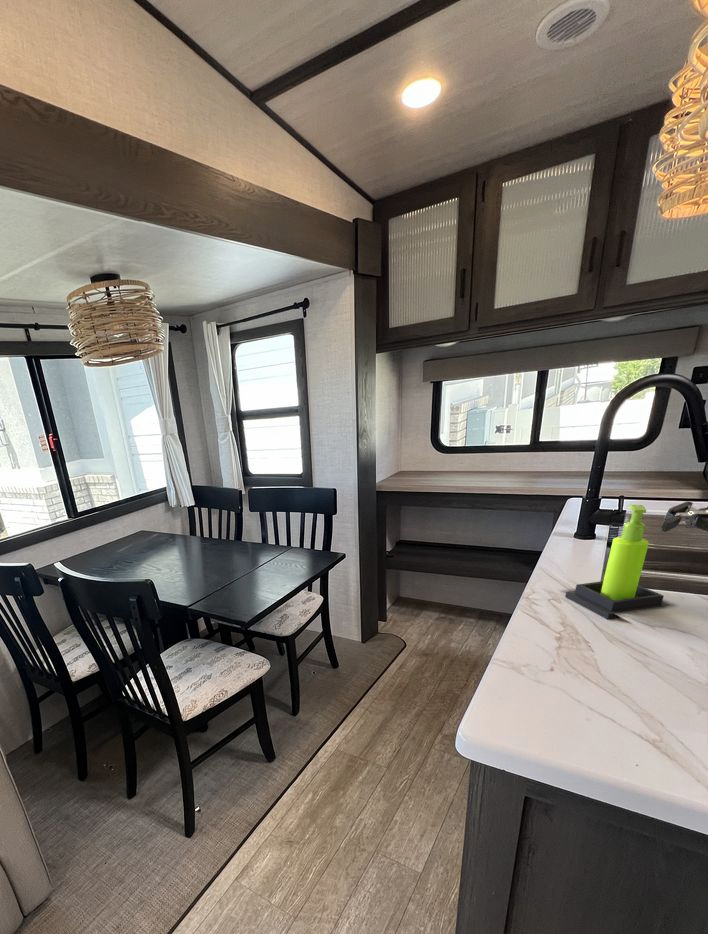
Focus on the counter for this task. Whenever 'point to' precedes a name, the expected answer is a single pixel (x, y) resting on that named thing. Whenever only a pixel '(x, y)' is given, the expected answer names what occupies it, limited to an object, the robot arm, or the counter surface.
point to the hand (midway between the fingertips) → (687, 537)
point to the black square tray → (607, 607)
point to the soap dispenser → (626, 558)
